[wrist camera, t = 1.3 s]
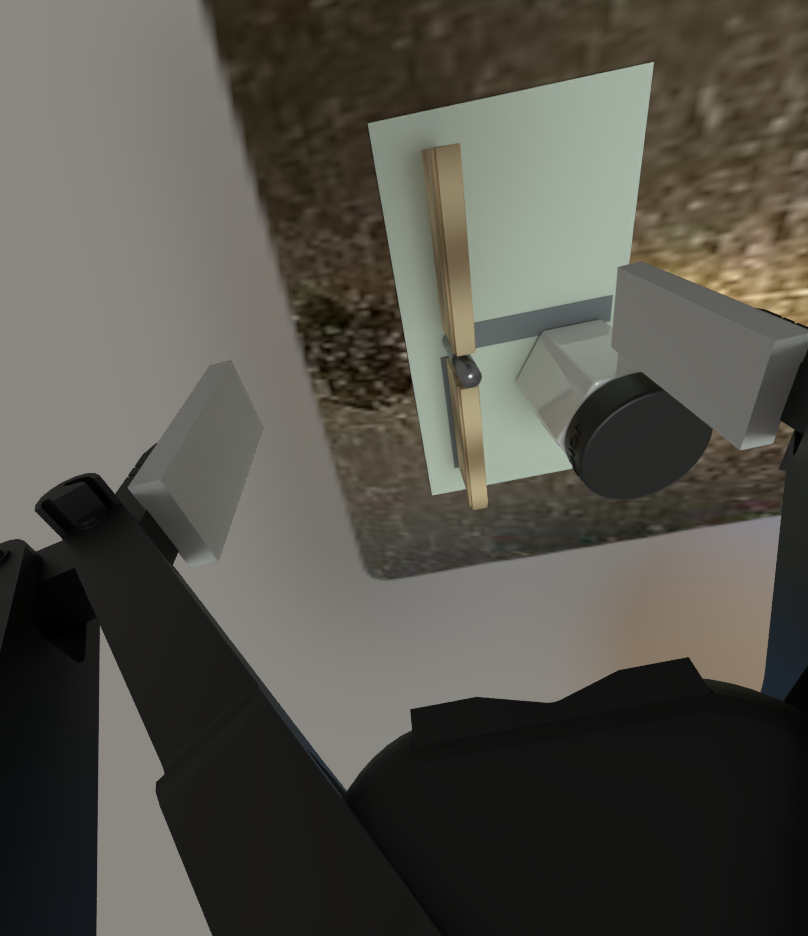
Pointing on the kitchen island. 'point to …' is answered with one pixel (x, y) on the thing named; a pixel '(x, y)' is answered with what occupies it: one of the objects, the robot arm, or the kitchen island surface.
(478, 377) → the hinge post
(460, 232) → the fence panel
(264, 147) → the kitchen island surface
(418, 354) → the board
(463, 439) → the fixed panel
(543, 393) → the jar
